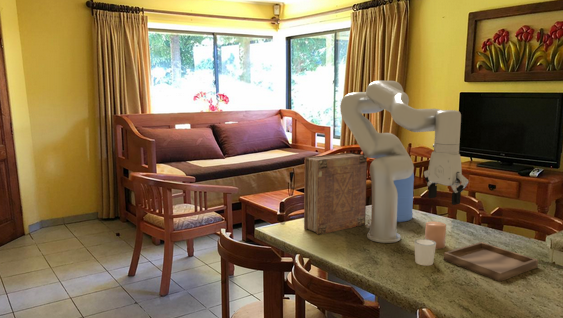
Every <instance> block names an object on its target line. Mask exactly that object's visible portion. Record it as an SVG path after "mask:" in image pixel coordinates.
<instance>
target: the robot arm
mask: <svg viewBox="0 0 563 318" xmlns="http://www.w3.org/2000/svg"><path fill="white" fill-rule="evenodd" d="M409 103H410V98H409V95H408V94H407V93H406V92H404V89H403V86H402V85H401V83H400V82H398V81H395V80H374V81H372V82H370V83H369V84H368V85H367V87H366V89H365V91H364V92H363V91H358V92H357V91H356V92H350V93H347V94H346V95H345V96H343V98H342V99H341V101H340V114H341V118H342V120H343V122H344V123H345V125H346V126H347V127H348V129H349V130H350V132H351V133H352V135H353V137H354V139H355V141H356V143H357V144H358V146H359V148H360V150H361V151H362V154H363V155H365V156H366V157H367V159H373V160H372V161H371V163H370V165H369V176H370V181H371V215H370V216H371V219H370V220H371V221H368V222H367V223H365V228H366V229H369V230H368V232H367V233H366V238H367V239H368V240H370V241H372V242H376V243H382V244H383V243H384V244H389V243H390V244H392V243H397V242H398V241H400V240H401V234H399V233H397V227H398V226H397V225H398V222H397V199H398V193H397V189H396V187H395V185H394V181H395V180H402V179H406V178H408V177H410V176H411V175H412V173H414V170H415V166H414V162H413V160H412V158H411V157H410V154H409V153H408V151H407V149H406V147H405V146H404V145H403V143H402V141H401V140H400V138H399V137H397V136H396V135H395V134H394V133H391V132H378V131H377V130H376V128H375V126H374V124H373V123H372V122H371V121H370V120H369V119H368V118H367V117H366V116H364V114H376V113H380V112H382V111H383V110H384V111H385V110H386V112H389V113H390V115H391V117H392V120H393V121H394V122H395V123H396V124H397V125H398V126H400V127H401V128H404V129H405V130H407V131H410V132H413V133H424V132H434V143H433V144H432V148H433V151H432V152H431V154H430V159H429V163H428V169H427V170H425V171H423V175H424V177H425V178H424V180H425V182H426V184H427V187H428V194H427V195H428V199H435V198H437V196H438V195H437V194H438V186H437V184H439V185H443V186H447V187H448V186H450V187H451V189H452V191H453V192H451V193H452V194H451V205H452V206H454V205H460V204H461V197H462V192H463V191H464V190H465V189H466V188H467V186H468V184H469V179H467V177H465V175H463V174H462V173H463V172H462V171H463V169H462V159H461V154H460V143H461V142H460V141H461V140H460V138H461V125H462V124H461V123H462V114H461V112H460V111H459V110H456V109H454V110H453V109H439V108H414V107H412V106H410V105H409Z"/></svg>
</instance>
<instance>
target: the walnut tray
mask: <svg viewBox="0 0 563 318" xmlns="http://www.w3.org/2000/svg"><path fill="white" fill-rule="evenodd" d="M443 261H446V262H449V263H450V264H453V265H456V266H458V267H462V268H464V269H466V270H469V271H472V272H474V273H477V274H479V275H482V276H484V277H487V278H490V279H493V280H495V281H497V282H502V281H505V280H508V279H510V278H513V277H516V276H518V275H521V274H523V273H526V272H528V271H531V270H534V269H536V268H538V265H539V260H538V259H537V258H534V257H531V256H528V255H527V256H526V255H524V254H521V253H518V252H514V251H511V250H508V249H506V248H505V249H504V248H502V247H499V246H495V245H493V244H490V243H486V242H483V241H480V242H476V243H472V244H469V245H465V246H463V247H459V248H456V249H452V250H448V251H445V252H443Z"/></svg>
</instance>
